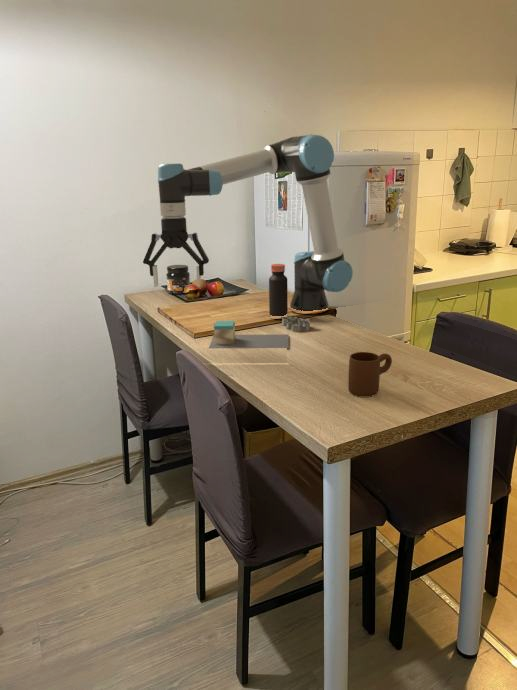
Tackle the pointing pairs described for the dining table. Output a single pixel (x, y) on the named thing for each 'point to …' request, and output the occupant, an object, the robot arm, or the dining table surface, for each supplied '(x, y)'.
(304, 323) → the egg carton
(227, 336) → the maple cube
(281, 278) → the bottle
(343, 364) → the dining table surface
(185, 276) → the supplement container
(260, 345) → the rubber mat
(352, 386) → the mug
